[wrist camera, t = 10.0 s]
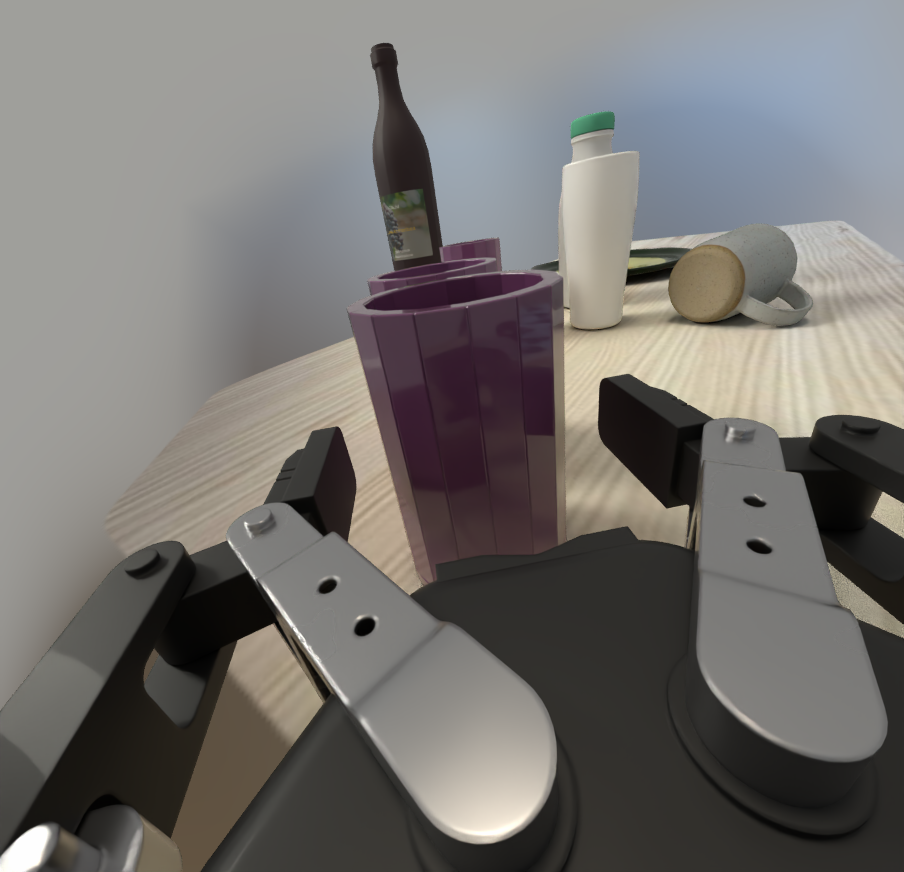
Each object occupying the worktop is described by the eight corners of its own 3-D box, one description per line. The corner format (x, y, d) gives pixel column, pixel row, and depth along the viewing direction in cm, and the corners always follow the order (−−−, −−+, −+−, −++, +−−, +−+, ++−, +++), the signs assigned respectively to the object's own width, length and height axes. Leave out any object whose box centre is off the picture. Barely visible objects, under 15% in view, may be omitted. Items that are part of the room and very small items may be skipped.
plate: (510, 295, 67) (509, 279, 65) (548, 270, 88) (548, 258, 87) (703, 281, 54) (706, 261, 53) (693, 255, 76) (695, 241, 74)
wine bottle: (396, 325, 58) (340, 58, 44) (434, 314, 62) (393, 63, 48) (423, 329, 53) (368, 29, 39) (462, 317, 56) (425, 37, 42)
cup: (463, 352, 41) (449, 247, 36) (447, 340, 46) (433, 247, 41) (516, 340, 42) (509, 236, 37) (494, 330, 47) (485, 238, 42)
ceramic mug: (657, 321, 40) (667, 238, 36) (705, 303, 43) (719, 225, 39) (776, 337, 32) (805, 232, 28) (826, 314, 35) (857, 217, 31)
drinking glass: (629, 315, 44) (640, 154, 37) (628, 331, 39) (641, 146, 32) (567, 318, 47) (566, 169, 40) (558, 334, 41) (555, 165, 34)
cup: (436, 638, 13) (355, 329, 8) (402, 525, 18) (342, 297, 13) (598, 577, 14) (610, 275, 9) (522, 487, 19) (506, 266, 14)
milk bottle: (622, 306, 48) (634, 99, 39) (558, 312, 50) (554, 118, 41) (617, 294, 54) (626, 114, 45) (560, 300, 57) (557, 130, 48)
